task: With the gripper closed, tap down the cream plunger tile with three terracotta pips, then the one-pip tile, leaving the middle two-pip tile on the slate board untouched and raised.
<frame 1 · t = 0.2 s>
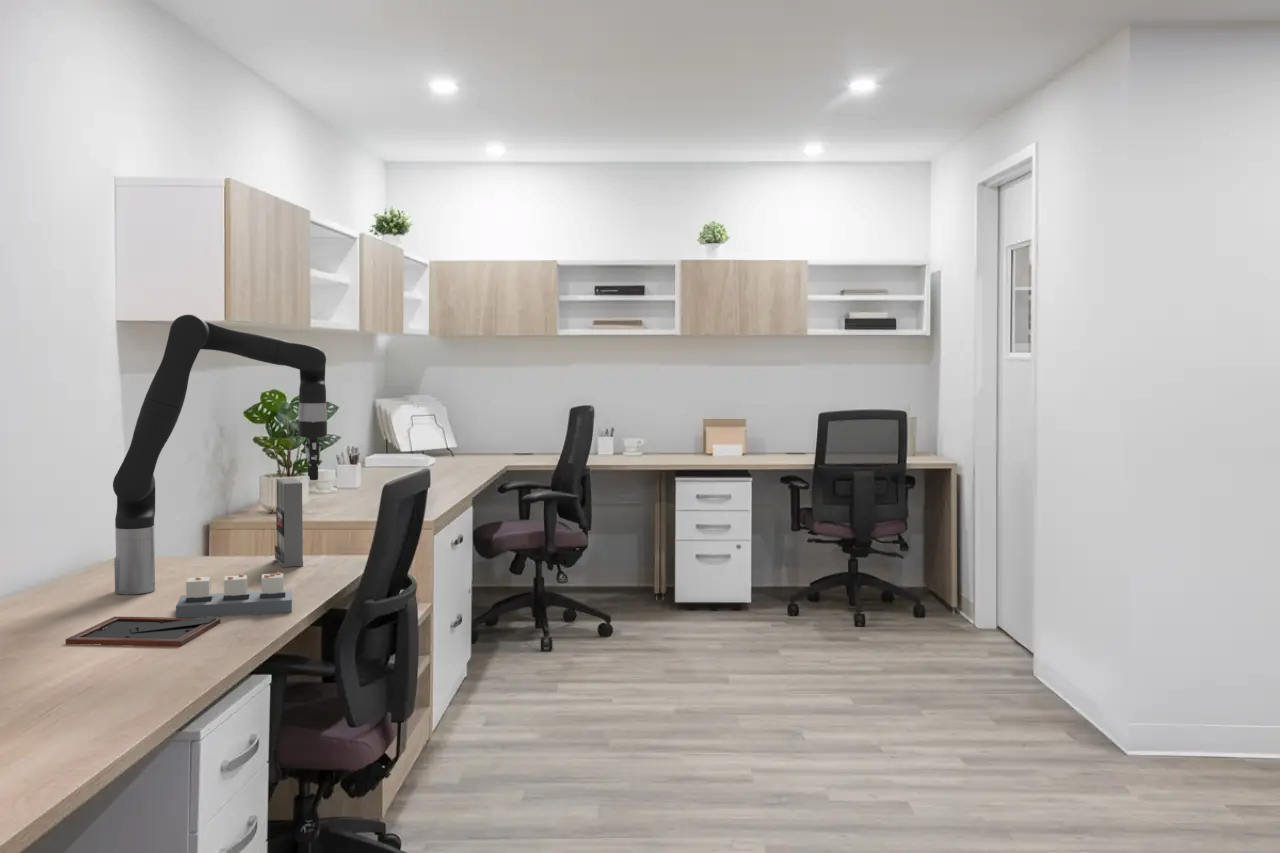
hand: (312, 478, 287), 29 cm above the table, tool pointing down, fingers open, 8 cm apart
tile one: (198, 587, 253), point 6 cm above the table, slide at 0.0 cm
tile two: (235, 585, 256), point 6 cm above the table, slide at 0.0 cm
tile three: (272, 583, 259), point 6 cm above the table, slide at 0.0 cm
picture frame: (146, 636, 234), on the table
cassette tape recorder: (288, 563, 315), on the table
board: (236, 609, 256), on the table
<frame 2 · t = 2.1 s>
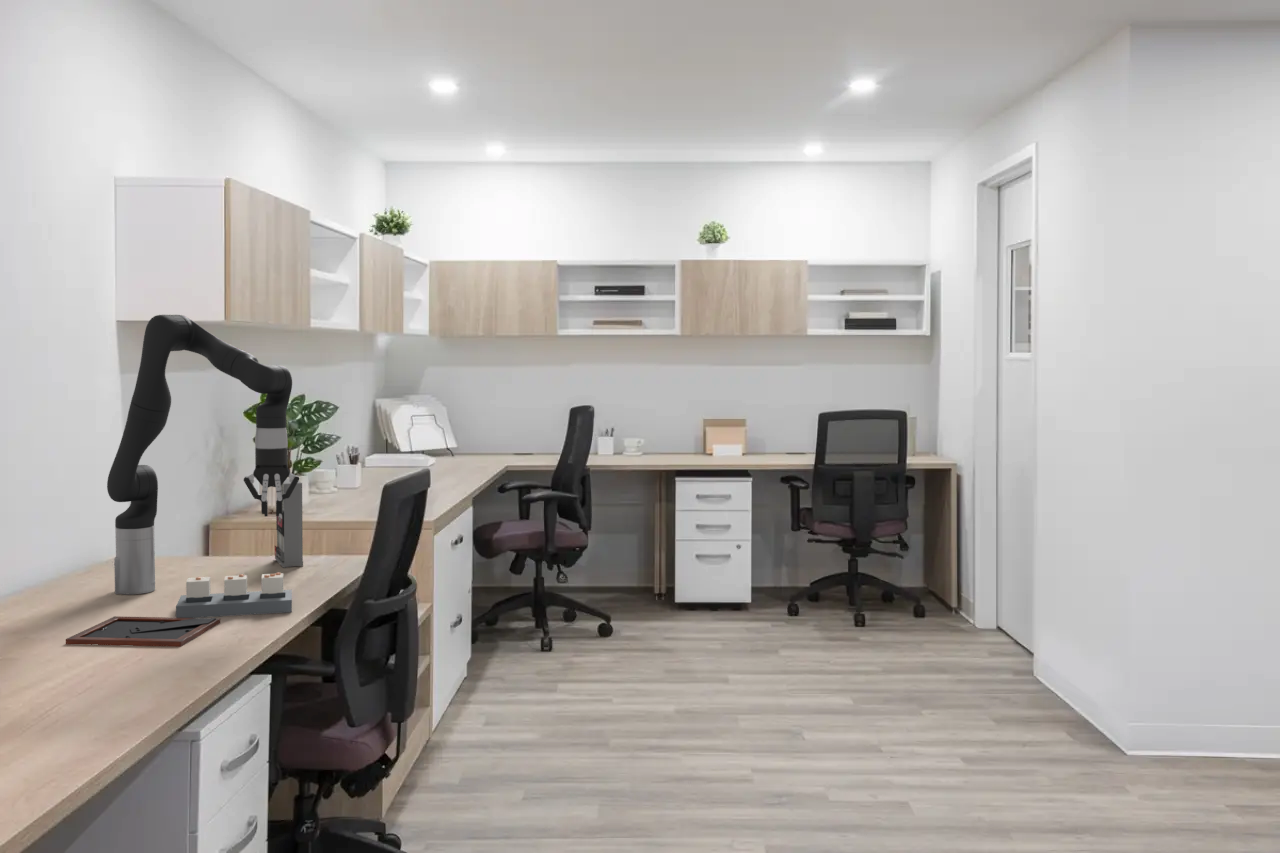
hand: (272, 515, 258), 23 cm above the table, tool pointing down, fingers closed
nothing on the table moved.
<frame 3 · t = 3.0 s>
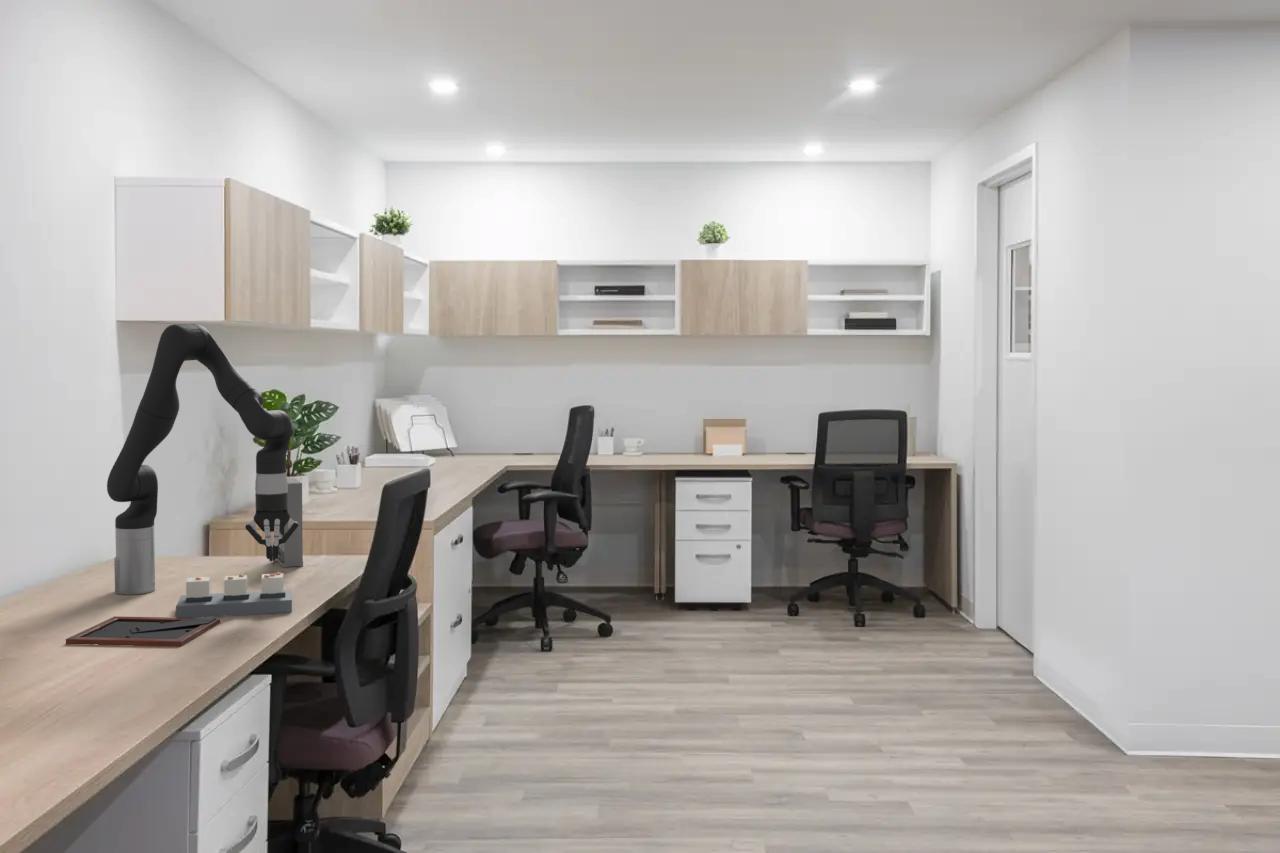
hand: (272, 560, 258), 12 cm above the table, tool pointing down, fingers closed
nothing on the table moved.
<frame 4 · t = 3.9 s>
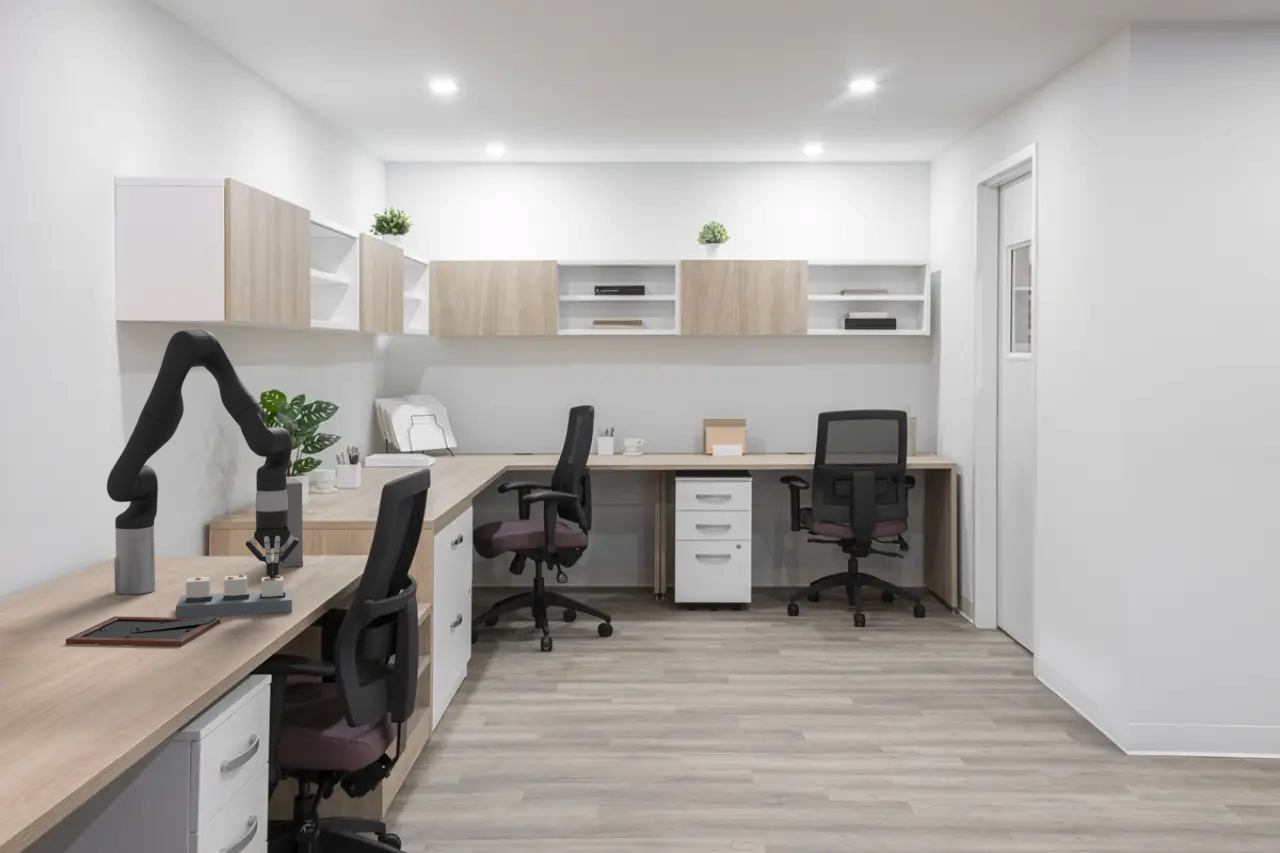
hand: (272, 577, 258), 8 cm above the table, tool pointing down, fingers closed
tile three: (272, 586, 259), point 5 cm above the table, slide at 0.8 cm, touching gripper
everything else where it was.
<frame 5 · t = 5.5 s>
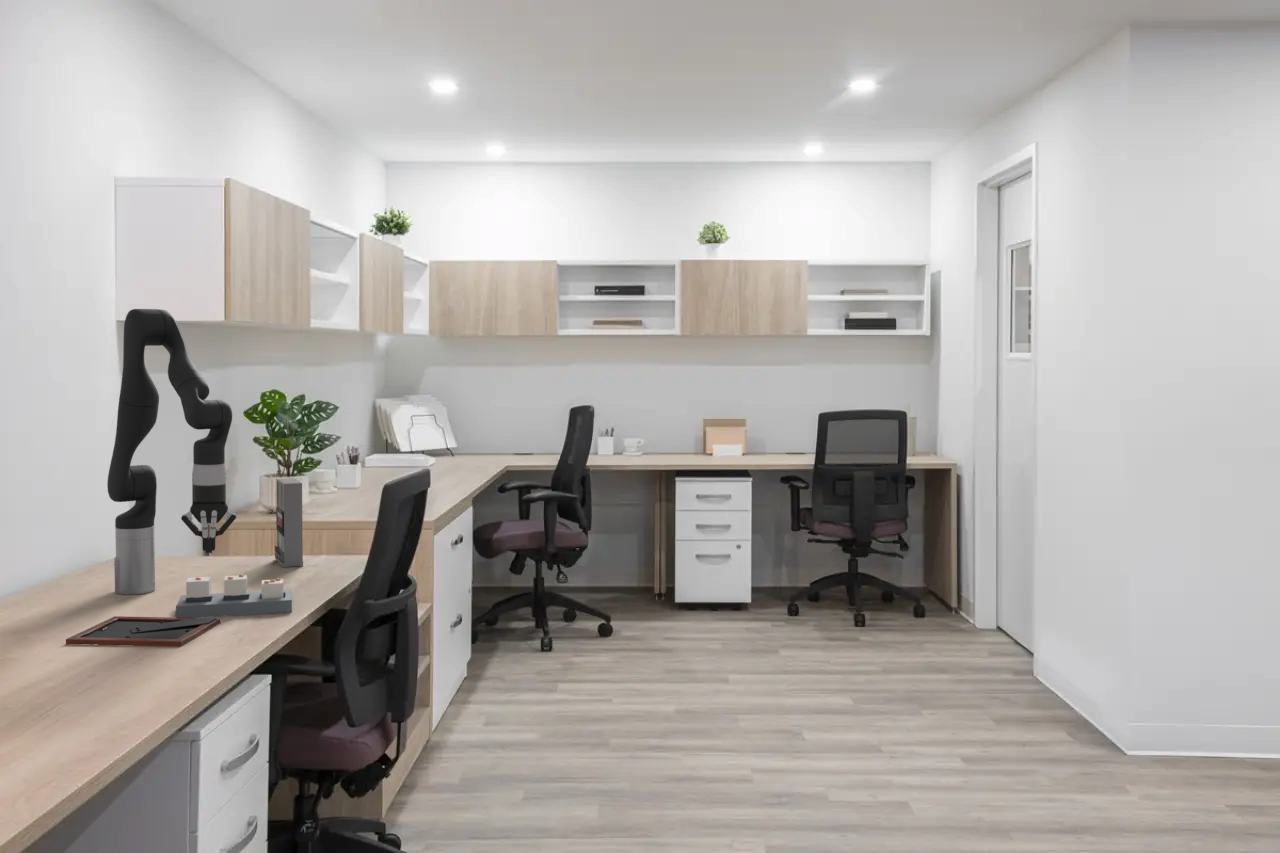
hand: (209, 552, 254), 14 cm above the table, tool pointing down, fingers closed
tile three: (272, 589, 259), point 5 cm above the table, slide at 1.5 cm
everything else where it was.
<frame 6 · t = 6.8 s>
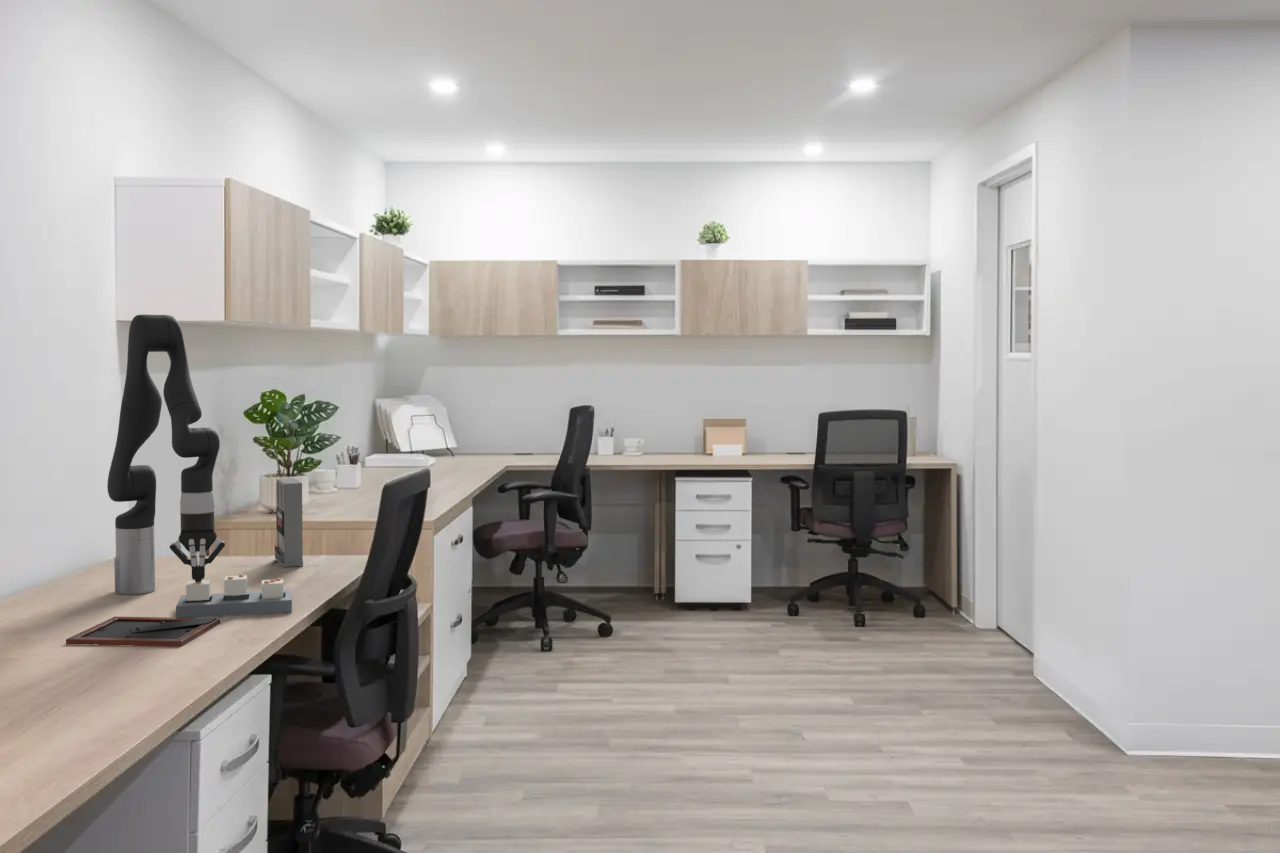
hand: (198, 581, 253), 8 cm above the table, tool pointing down, fingers closed
tile one: (198, 590, 253), point 5 cm above the table, slide at 0.8 cm, touching gripper
everything else where it was.
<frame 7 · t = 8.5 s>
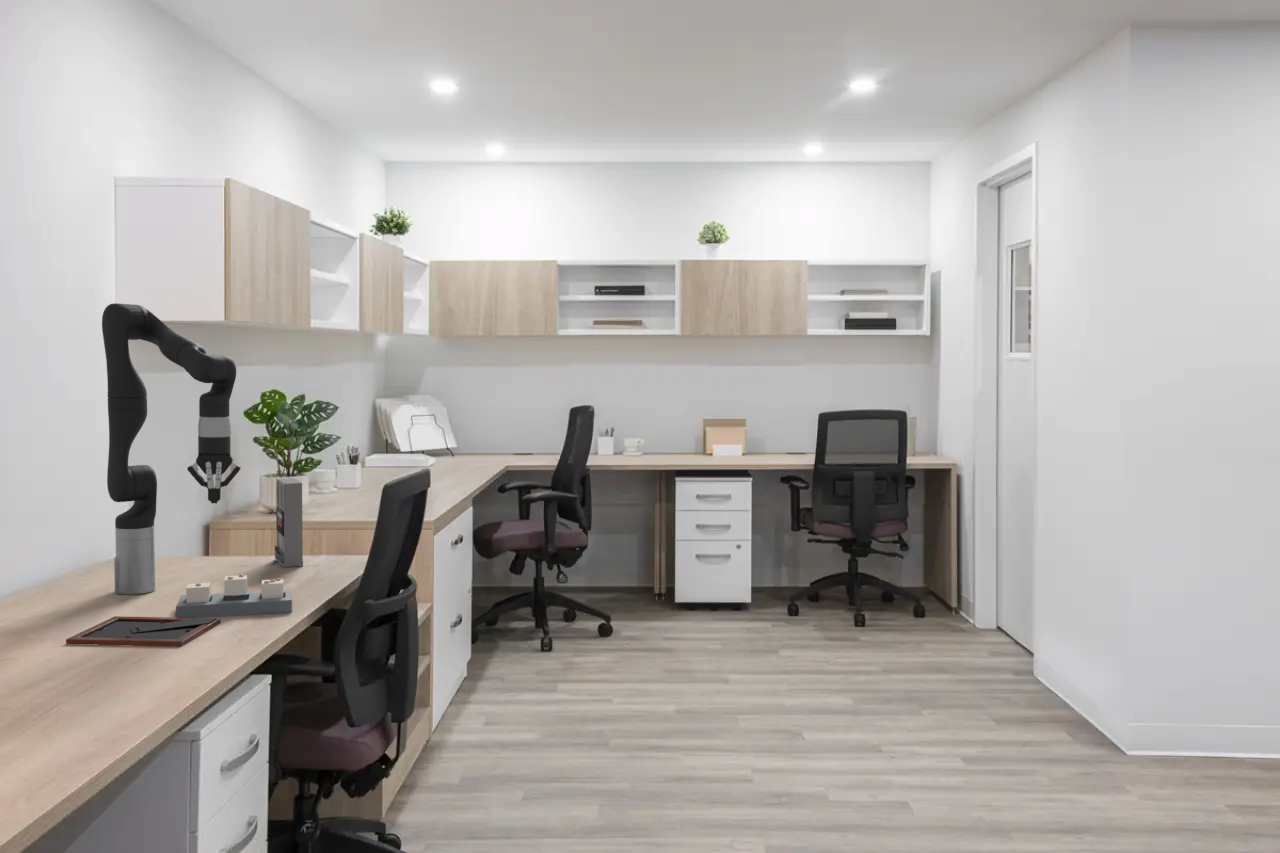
hand: (214, 502, 263), 25 cm above the table, tool pointing down, fingers closed
tile one: (198, 593, 253), point 5 cm above the table, slide at 1.5 cm
everything else where it was.
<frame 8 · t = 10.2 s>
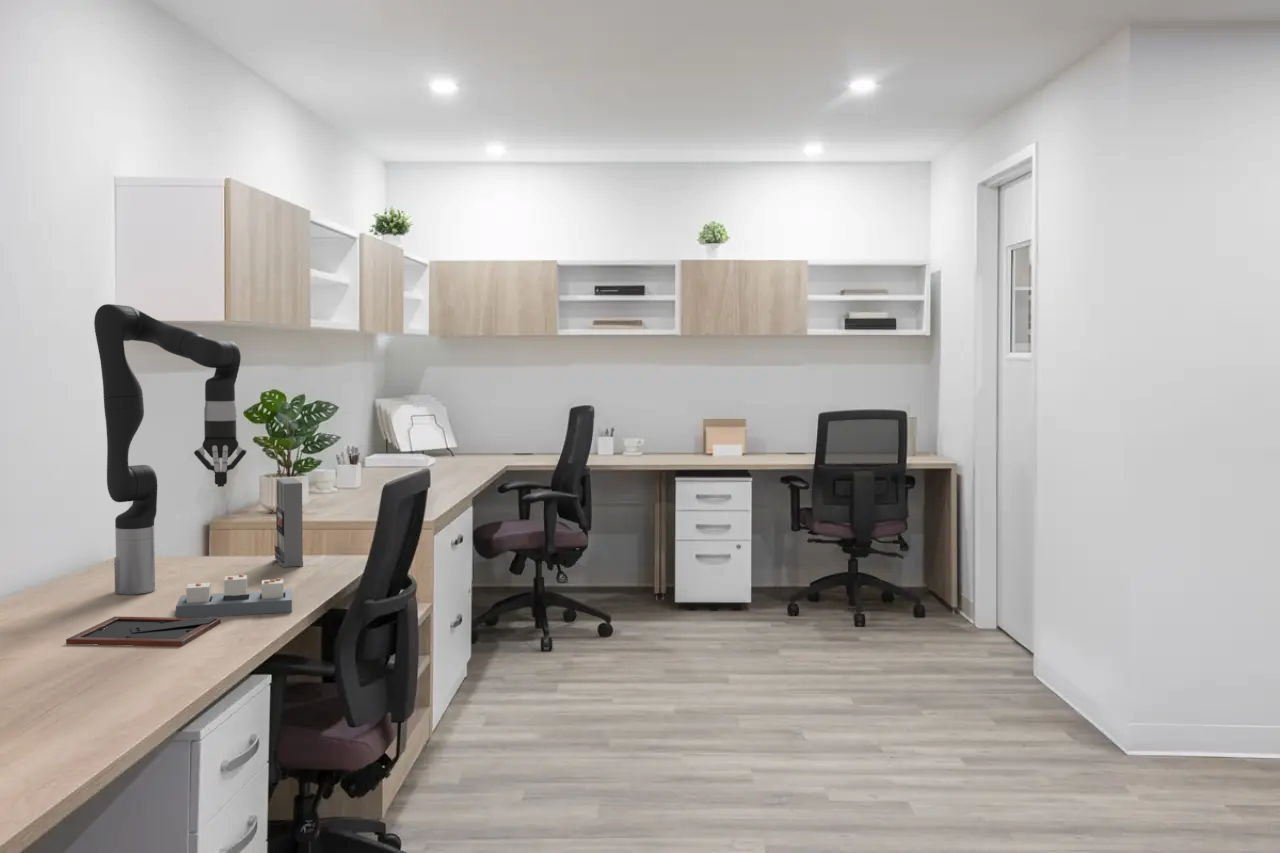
hand: (221, 486, 266), 29 cm above the table, tool pointing down, fingers closed
nothing on the table moved.
at the end: tile three slide at 1.5 cm; tile one slide at 1.5 cm; tile two slide at 0.0 cm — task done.
